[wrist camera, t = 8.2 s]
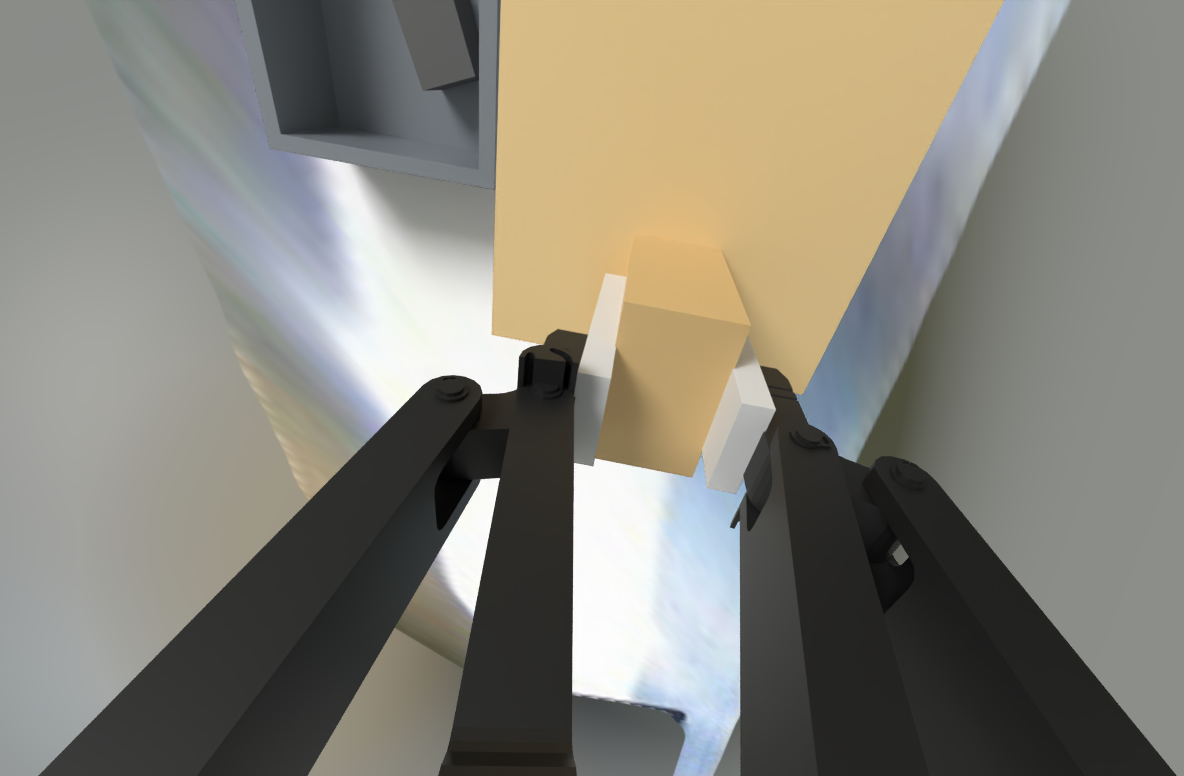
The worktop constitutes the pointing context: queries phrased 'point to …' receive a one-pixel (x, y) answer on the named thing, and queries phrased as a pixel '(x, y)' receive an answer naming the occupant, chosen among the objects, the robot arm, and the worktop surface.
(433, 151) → the tub
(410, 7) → the rubber block
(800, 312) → the lid
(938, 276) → the worktop surface
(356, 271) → the worktop surface
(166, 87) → the worktop surface
